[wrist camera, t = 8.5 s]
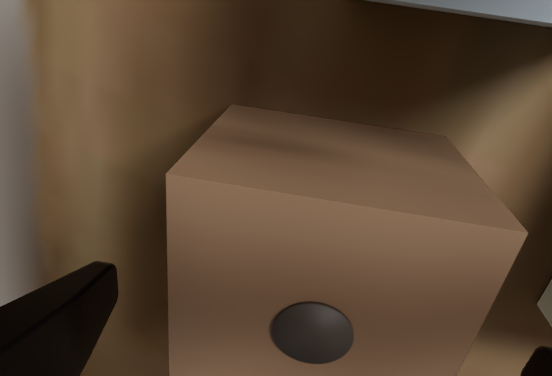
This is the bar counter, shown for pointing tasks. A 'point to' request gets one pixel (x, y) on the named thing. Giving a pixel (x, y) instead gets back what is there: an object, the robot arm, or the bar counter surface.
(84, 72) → the bar counter surface
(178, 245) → the walnut block
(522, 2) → the bored block
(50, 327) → the robot arm
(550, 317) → the tray
